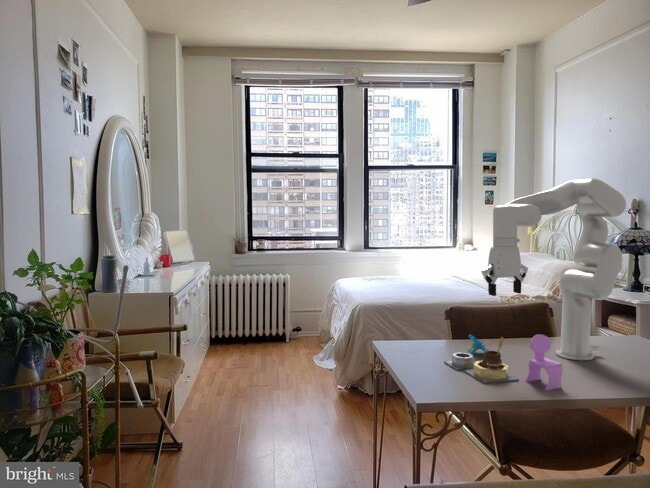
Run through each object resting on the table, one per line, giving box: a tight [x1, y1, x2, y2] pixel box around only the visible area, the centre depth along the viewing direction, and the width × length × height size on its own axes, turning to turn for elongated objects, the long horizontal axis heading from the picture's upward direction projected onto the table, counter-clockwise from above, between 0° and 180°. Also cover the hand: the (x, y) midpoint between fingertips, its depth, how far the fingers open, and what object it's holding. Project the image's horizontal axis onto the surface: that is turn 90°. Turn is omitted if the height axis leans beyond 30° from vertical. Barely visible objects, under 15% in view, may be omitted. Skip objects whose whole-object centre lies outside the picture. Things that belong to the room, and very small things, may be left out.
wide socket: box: [463, 360, 520, 385], centre depth 165 cm, size 12×12×4 cm
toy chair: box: [524, 334, 564, 391], centre depth 158 cm, size 8×9×15 cm
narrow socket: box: [444, 352, 475, 372], centre depth 176 cm, size 9×9×4 cm
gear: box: [467, 334, 490, 355], centre depth 189 cm, size 11×6×10 cm
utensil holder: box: [481, 336, 504, 369], centre depth 165 cm, size 6×6×12 cm
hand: (504, 294), depth 172 cm, fingers open, 9 cm apart
